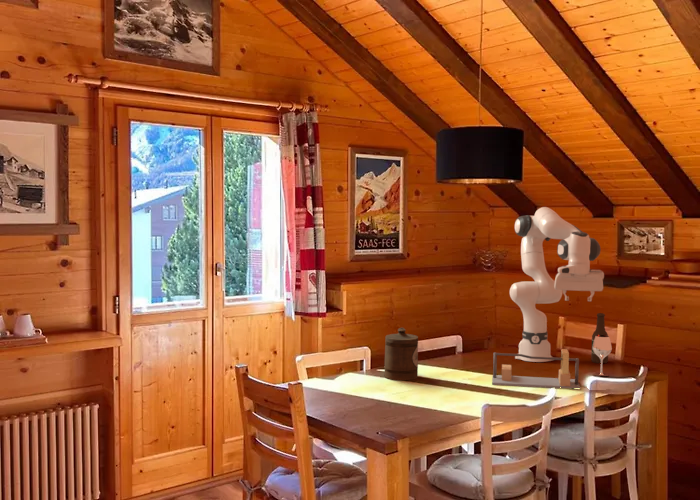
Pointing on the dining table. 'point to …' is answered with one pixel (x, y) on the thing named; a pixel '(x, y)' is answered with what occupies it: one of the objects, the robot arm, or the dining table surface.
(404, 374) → the wooden container
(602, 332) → the beer bottle
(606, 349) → the wineglass
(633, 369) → the dining table surface
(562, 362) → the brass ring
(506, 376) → the stand
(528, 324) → the robot arm
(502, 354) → the rod
